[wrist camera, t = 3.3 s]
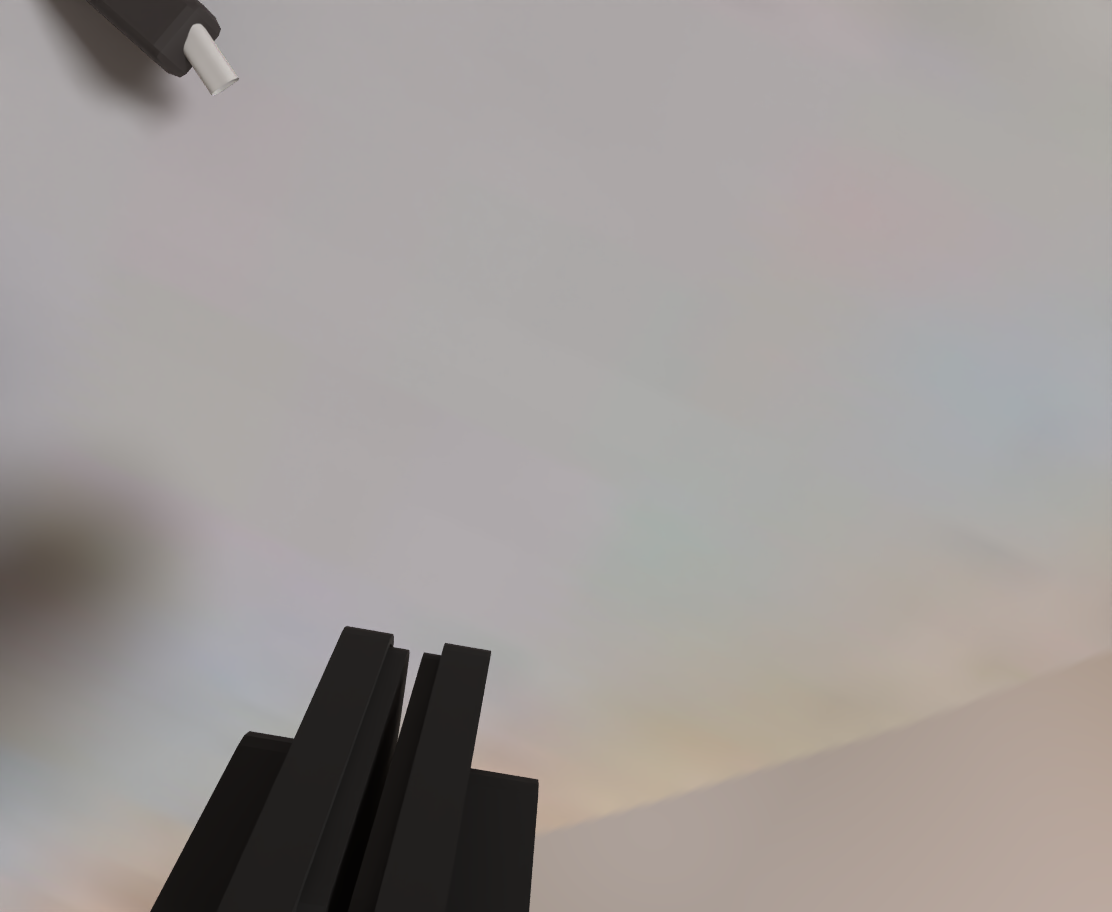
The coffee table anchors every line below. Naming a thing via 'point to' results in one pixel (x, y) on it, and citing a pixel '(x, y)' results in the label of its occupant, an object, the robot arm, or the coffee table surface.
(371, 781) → the robot arm
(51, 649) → the coffee table surface
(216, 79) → the clip-on lamp
